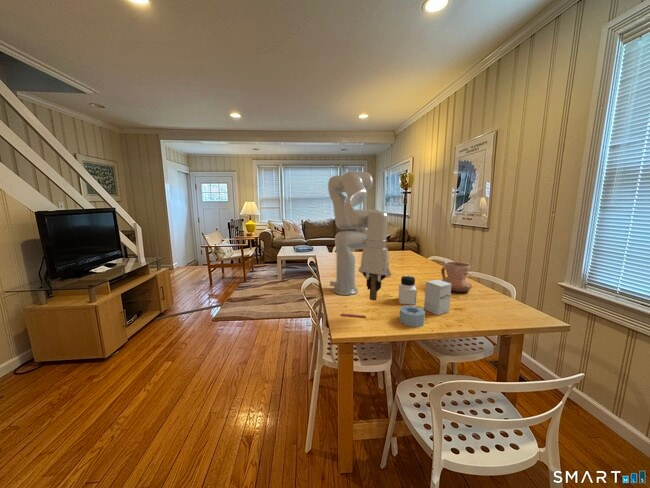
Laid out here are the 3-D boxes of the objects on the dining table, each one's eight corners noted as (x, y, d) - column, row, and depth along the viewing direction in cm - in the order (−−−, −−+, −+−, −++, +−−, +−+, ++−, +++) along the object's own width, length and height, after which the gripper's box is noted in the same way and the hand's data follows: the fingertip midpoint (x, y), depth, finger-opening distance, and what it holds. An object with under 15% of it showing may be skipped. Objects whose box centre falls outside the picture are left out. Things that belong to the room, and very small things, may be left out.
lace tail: (341, 315, 104) (341, 314, 104) (341, 314, 105) (341, 313, 105) (365, 317, 102) (365, 316, 102) (365, 316, 103) (365, 315, 103)
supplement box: (437, 315, 104) (440, 286, 102) (423, 309, 110) (425, 281, 108) (449, 312, 107) (452, 283, 105) (435, 306, 113) (437, 278, 111)
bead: (398, 323, 97) (398, 312, 96) (402, 314, 105) (402, 304, 104) (422, 328, 93) (423, 316, 92) (424, 318, 101) (425, 308, 100)
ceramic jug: (480, 293, 129) (482, 265, 127) (458, 296, 124) (460, 268, 122) (451, 283, 146) (453, 259, 144) (431, 286, 141) (433, 261, 139)
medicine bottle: (416, 305, 115) (417, 279, 113) (399, 303, 116) (400, 278, 114) (413, 299, 121) (415, 275, 120) (398, 298, 123) (399, 274, 121)
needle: (368, 299, 101) (370, 268, 98) (370, 296, 103) (372, 266, 101) (375, 300, 100) (377, 269, 97) (377, 298, 102) (379, 267, 99)
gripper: (352, 243, 97) (351, 288, 101) (395, 248, 90) (392, 296, 94) (359, 240, 104) (357, 282, 107) (399, 244, 97) (396, 289, 100)
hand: (373, 288), depth 101 cm, fingers closed on needle, 2 cm apart
